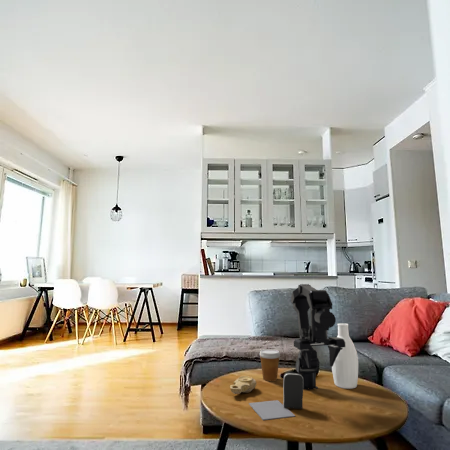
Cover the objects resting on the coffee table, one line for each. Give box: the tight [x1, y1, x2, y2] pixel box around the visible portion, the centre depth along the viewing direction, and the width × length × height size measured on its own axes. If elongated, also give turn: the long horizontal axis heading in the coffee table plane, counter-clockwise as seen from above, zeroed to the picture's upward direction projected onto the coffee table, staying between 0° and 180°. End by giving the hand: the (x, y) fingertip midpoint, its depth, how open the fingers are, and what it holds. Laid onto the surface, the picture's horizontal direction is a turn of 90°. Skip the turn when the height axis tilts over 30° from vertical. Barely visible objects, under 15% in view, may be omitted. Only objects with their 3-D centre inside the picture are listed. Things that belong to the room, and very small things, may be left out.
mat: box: [248, 399, 296, 421], centre depth 117 cm, size 12×14×1 cm
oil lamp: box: [229, 375, 257, 395], centre depth 134 cm, size 11×14×5 cm
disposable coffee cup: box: [259, 348, 281, 382], centre depth 151 cm, size 10×10×12 cm
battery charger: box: [282, 372, 304, 410], centre depth 120 cm, size 7×4×11 cm, turn 87°
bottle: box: [331, 322, 359, 390], centre depth 144 cm, size 11×11×25 cm
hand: (320, 367), depth 124 cm, fingers open, 9 cm apart
